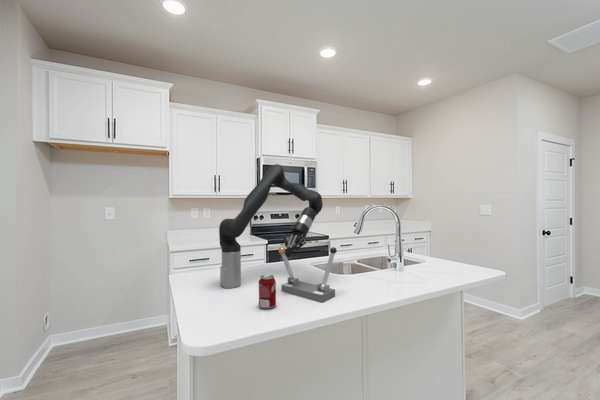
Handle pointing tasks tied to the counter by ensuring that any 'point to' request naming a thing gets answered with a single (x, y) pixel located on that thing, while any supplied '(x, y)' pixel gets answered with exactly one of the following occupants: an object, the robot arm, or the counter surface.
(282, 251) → the copper lever
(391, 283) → the counter surface
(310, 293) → the switch bar
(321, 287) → the black lever
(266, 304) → the soda can
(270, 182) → the robot arm
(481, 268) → the counter surface
